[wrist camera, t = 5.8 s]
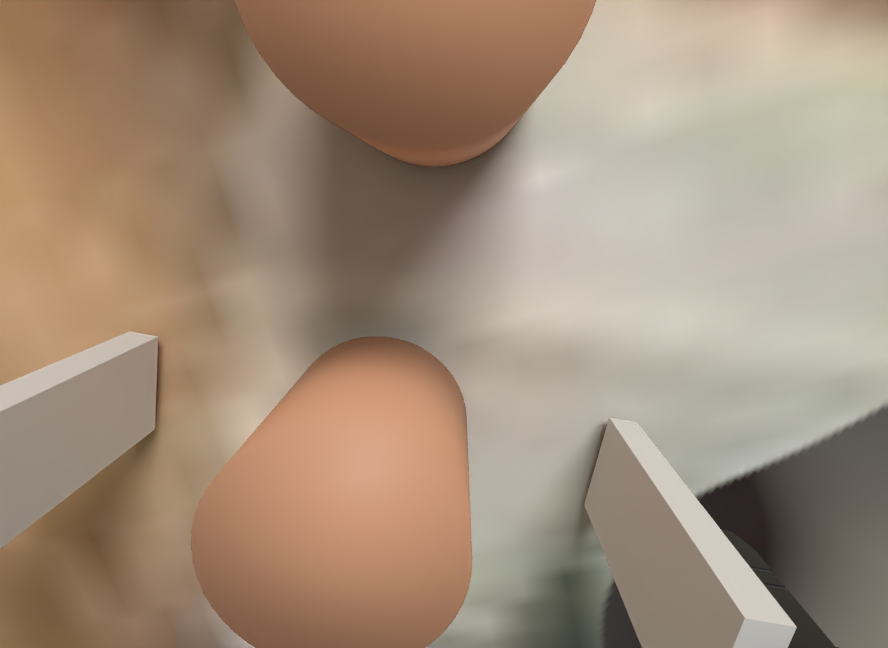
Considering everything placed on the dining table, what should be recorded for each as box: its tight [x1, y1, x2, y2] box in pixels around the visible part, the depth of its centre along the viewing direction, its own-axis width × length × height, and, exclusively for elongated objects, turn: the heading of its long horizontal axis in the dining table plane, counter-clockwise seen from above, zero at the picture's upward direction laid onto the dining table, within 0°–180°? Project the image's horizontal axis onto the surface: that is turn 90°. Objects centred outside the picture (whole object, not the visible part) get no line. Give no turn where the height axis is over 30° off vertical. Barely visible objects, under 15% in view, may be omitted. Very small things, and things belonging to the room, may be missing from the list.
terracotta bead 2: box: [191, 336, 472, 648], centre depth 11 cm, size 5×5×6 cm
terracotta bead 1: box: [235, 0, 596, 167], centre depth 9 cm, size 5×5×6 cm
